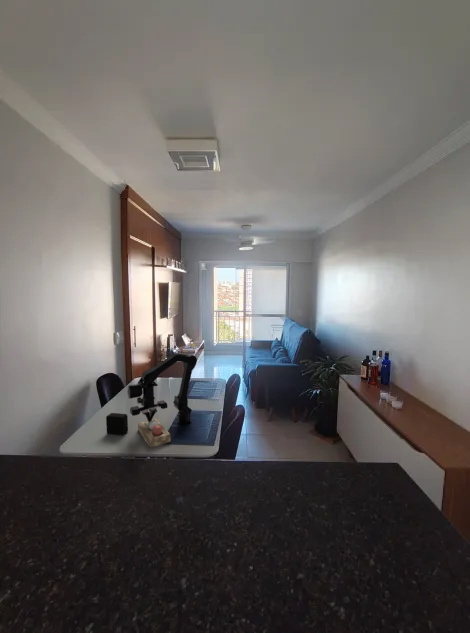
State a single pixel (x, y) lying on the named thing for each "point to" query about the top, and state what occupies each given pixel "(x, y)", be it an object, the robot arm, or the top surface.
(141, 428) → the beech block
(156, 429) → the red plug
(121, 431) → the electronic device
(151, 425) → the plug
